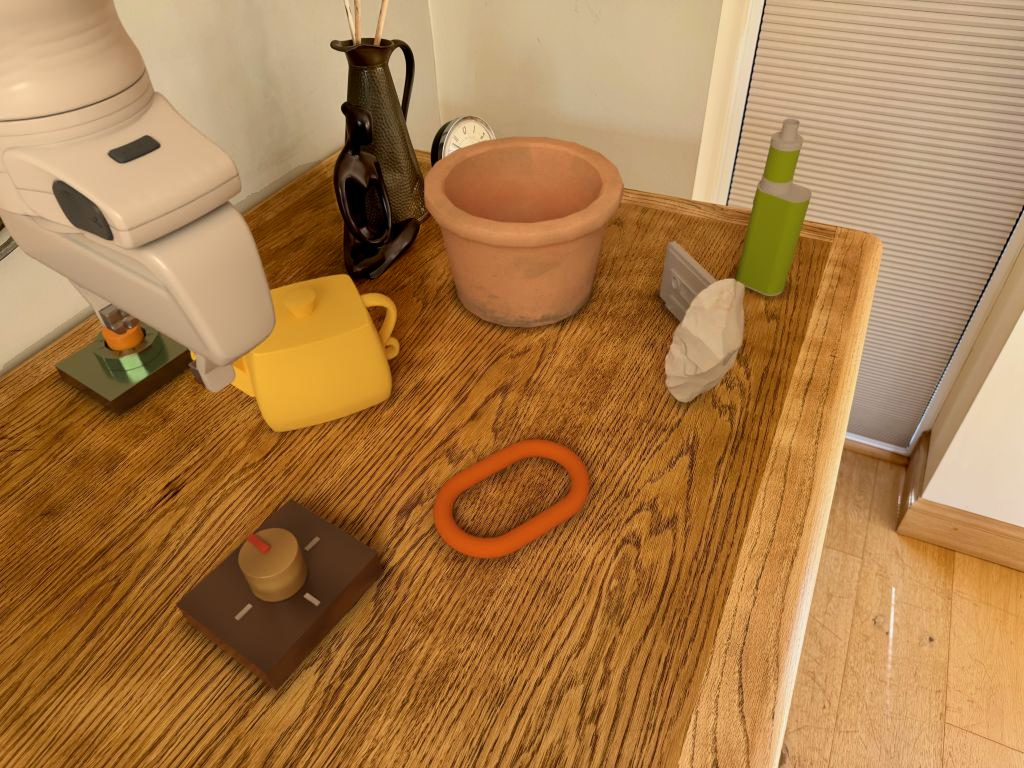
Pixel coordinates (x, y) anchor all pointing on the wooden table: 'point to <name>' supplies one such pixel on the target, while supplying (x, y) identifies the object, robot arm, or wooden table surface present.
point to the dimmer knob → (273, 564)
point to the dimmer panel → (296, 620)
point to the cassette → (682, 280)
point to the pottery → (523, 225)
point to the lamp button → (123, 338)
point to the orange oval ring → (529, 528)
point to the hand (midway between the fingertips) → (168, 353)
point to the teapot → (320, 355)
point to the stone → (706, 340)
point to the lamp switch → (125, 369)
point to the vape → (775, 216)
